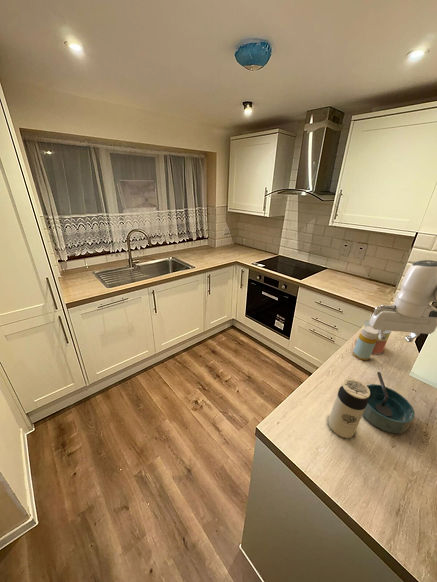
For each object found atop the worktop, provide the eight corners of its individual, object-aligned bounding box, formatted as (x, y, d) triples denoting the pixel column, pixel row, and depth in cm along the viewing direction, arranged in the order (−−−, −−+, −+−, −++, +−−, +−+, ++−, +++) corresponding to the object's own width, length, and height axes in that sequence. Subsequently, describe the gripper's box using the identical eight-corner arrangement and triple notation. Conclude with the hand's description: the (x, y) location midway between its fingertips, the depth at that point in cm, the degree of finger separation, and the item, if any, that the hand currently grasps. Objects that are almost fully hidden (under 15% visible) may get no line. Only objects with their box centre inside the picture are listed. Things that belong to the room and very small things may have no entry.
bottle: (354, 358, 109) (364, 332, 102) (351, 349, 115) (360, 323, 108) (371, 362, 107) (382, 335, 100) (367, 352, 113) (377, 326, 107)
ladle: (380, 385, 94) (386, 373, 91) (392, 422, 80) (399, 408, 77) (366, 381, 96) (371, 369, 93) (375, 417, 81) (381, 403, 78)
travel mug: (330, 411, 83) (344, 373, 75) (355, 424, 79) (372, 385, 71) (325, 428, 77) (339, 389, 70) (352, 443, 73) (370, 403, 65)
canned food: (383, 344, 119) (391, 325, 114) (382, 357, 110) (391, 336, 105) (358, 336, 124) (365, 317, 119) (356, 348, 116) (363, 327, 111)
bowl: (400, 403, 87) (406, 392, 85) (414, 441, 74) (421, 429, 72) (354, 390, 92) (359, 379, 89) (360, 424, 79) (366, 412, 76)
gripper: (381, 308, 77) (368, 342, 83) (448, 314, 76) (430, 348, 82) (372, 300, 83) (361, 332, 89) (434, 304, 81) (418, 337, 87)
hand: (394, 339), depth 85 cm, fingers open, 8 cm apart
